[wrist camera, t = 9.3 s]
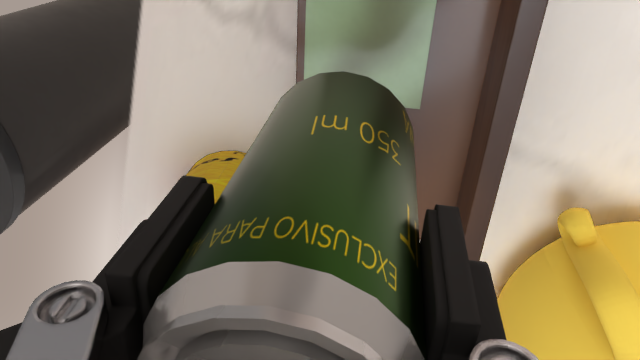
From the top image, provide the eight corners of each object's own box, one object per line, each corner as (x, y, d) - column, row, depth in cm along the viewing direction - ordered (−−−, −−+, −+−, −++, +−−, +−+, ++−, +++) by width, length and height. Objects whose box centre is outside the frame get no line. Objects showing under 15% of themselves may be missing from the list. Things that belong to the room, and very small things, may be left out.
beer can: (274, 188, 20) (140, 487, 10) (271, 59, 17) (84, 283, 7) (405, 201, 20) (410, 534, 9) (423, 70, 17) (459, 331, 7)
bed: (301, 198, 37) (281, 259, 31) (310, -102, 27) (283, -104, 21) (460, 216, 36) (473, 284, 30) (530, -91, 26) (572, -89, 20)
